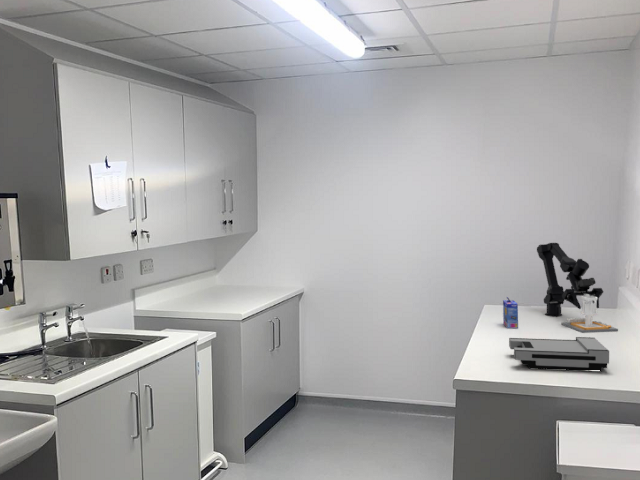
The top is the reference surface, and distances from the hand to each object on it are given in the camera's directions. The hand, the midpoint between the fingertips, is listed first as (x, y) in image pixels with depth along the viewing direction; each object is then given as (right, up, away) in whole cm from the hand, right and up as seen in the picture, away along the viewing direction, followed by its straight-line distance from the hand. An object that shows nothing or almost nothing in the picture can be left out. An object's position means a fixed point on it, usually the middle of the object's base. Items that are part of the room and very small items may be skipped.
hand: (589, 308), depth 279 cm
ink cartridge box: (-35, -10, +8) cm, 37 cm away
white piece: (0, -9, +1) cm, 9 cm away
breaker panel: (+1, -10, +2) cm, 10 cm away
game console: (-39, -15, -56) cm, 70 cm away
